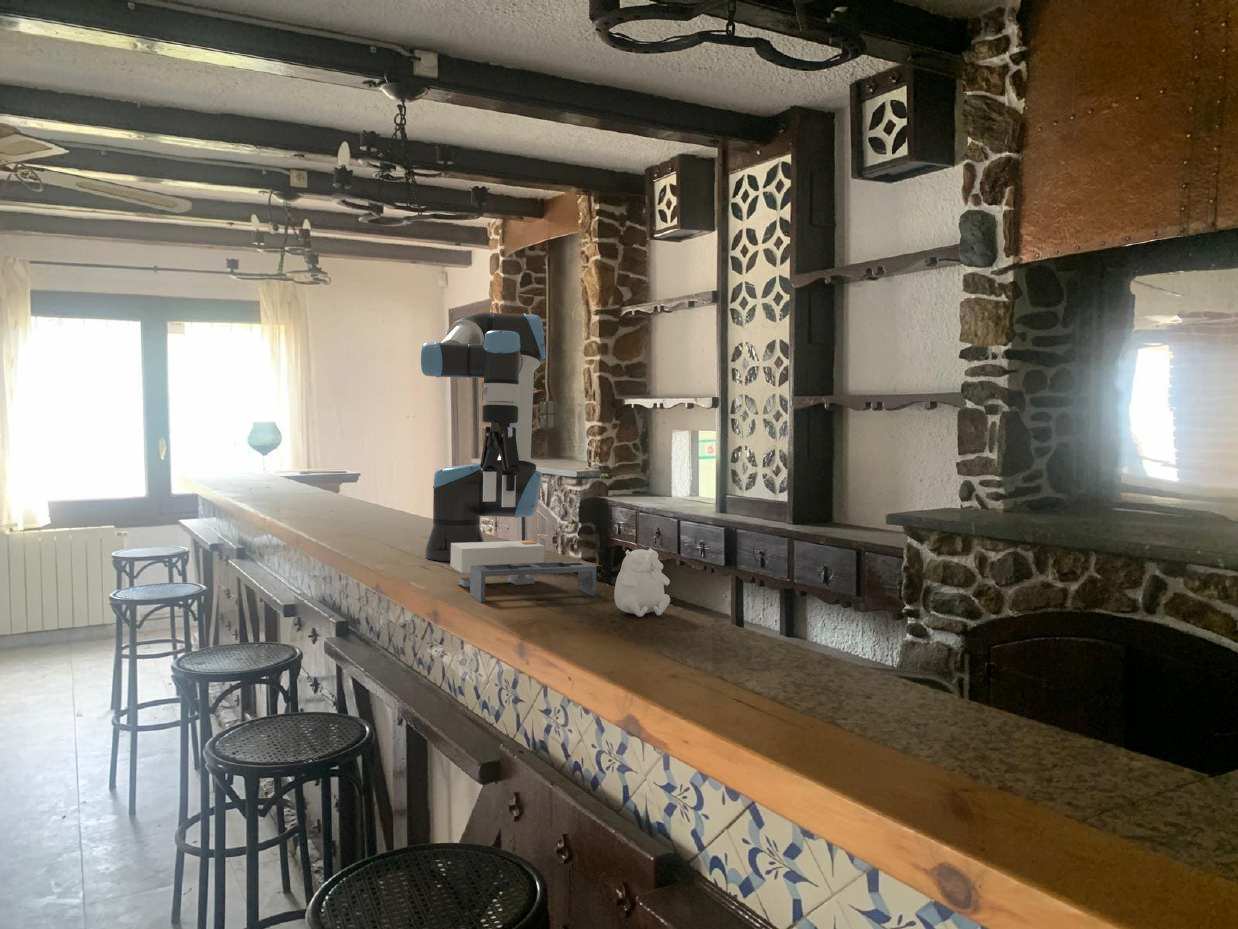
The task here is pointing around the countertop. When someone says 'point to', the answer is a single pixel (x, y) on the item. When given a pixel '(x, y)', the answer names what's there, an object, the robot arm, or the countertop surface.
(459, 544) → the white rectangular block
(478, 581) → the rail
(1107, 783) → the countertop surface
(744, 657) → the countertop surface
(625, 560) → the figurine
